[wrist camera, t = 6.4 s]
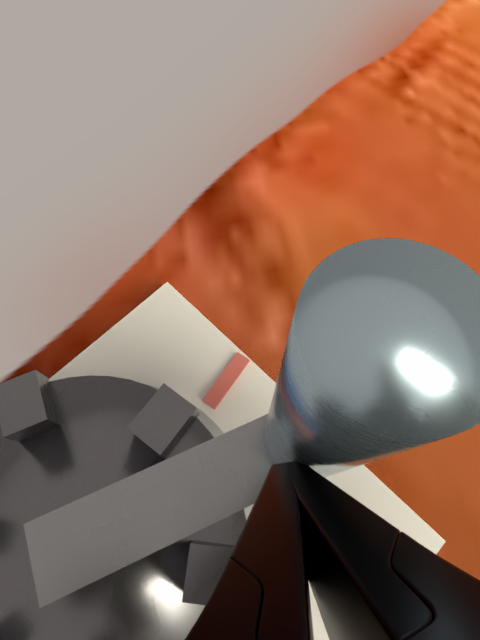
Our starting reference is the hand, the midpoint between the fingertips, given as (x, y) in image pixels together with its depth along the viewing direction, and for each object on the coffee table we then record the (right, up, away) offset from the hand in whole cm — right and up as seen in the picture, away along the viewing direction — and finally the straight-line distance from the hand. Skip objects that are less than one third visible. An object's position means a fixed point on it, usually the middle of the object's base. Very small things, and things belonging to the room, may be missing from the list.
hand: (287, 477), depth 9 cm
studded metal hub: (-5, -4, +5) cm, 8 cm away
